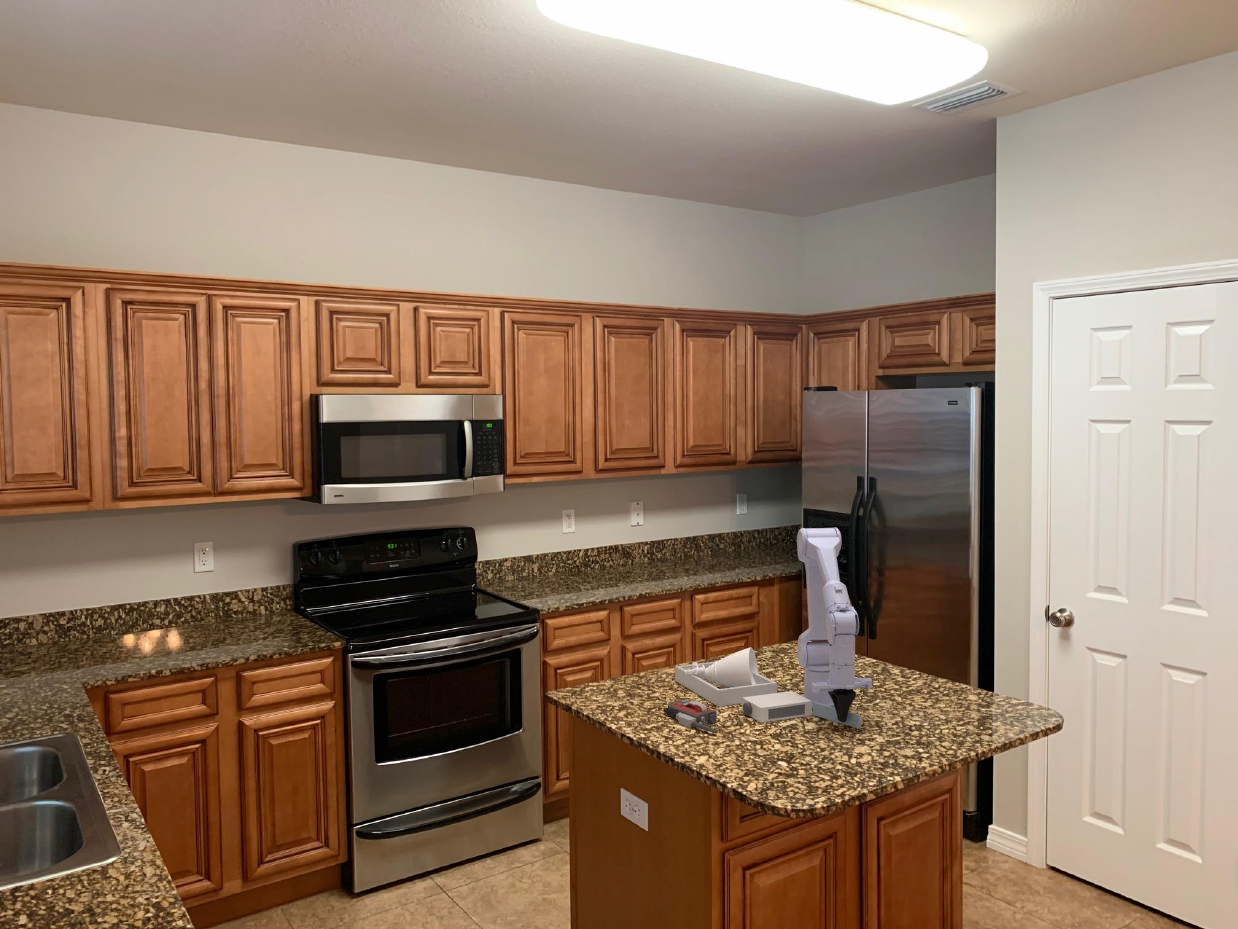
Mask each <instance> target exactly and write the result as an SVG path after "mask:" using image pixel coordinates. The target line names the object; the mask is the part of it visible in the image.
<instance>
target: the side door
mask: <svg viewBox="0 0 1238 929" xmlns="http://www.w3.org/2000/svg"><path fill="white" fill-rule="evenodd" d="M812 716H816V717H818V718H822V719H826V720H829V721H833V722H836V723H839V724H843V725H845V726H848V727H852V728H856V729H858V730H859V729H861V728H862V725H863V724H864V717H863V716H862V715H861V714H858V713H856V712H852V711H850V710H849V711H848V715H847V719H846V722H840V721H839V720H838V718H837V713H836V709H835V706H828V705H825V704H821V703H818V702H813V708H812Z"/></svg>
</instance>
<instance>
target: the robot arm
mask: <svg viewBox="0 0 1238 929" xmlns="http://www.w3.org/2000/svg"><path fill="white" fill-rule="evenodd" d="M796 545H797V549H796V550H797V558H798V561H801V562H802V563H804V567H805V568H804V569H805V575H806V576H805V577H806V597H807V598H806V599H807V614H808V615H807V616H808V617H807V618H808V619H807V620H808V628H807V629H806V630H804V632H802V633H801V634H800V635H799V636H798V638H797V642H798V643H797V650H796V651H797V660H798V664H799V665H800V666H801V667H802V668H803V670H804V672H803V673H804V674H803V675H804V679H803V680H804V681H803V683H804V689H803V690H804V692H803V693H804V694H803V697H805V698H807V699H809V700H811V701H812V709H813V702H818V703H821V704H825V705H828V706H832V707H835V709H836V713H837V718H838V720H839V721H840V722H846V719H847V715H848V711H849V712H850V709H851V707H852V703H853V702H854V700H855V699H856V698H857V691H855V690H857V689H872V688H873V679H871V678H869V677H862V678H861V677H856V676H855V675H856V674H855V673H856V672H855V671H856V636H858V634H859V632H860V621H859V614H858V613H857V610H855V607H854V606H852V604H851V601H850V597H849V594H848V590H847V586H846V584H844V583H843V582H841V579H840V572H839V571H840V570H839V567H838V564H839V563H838V559H837V557H838V556H839V555H840V550H841V548H842V534H841V531H840V530H839V529H838V527H825V528H821V527H820V528H819V527H818V528H817V527H816V528H815V527H814V528H812V527H809V528H804V527H801V528H800V529H798V532H797V536H796ZM824 640H825V641H824ZM826 640H827V641H826ZM855 677H856V678H855Z"/></svg>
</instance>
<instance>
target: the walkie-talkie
mask: <svg viewBox="0 0 1238 929" xmlns="http://www.w3.org/2000/svg"><path fill="white" fill-rule="evenodd" d="M662 710H663V713H666V714H667V716H668V717H671V718H674V719H676V720H677V721H678V724H679V725H682V726H684V727H687V728H688V729H692V728H697V729H700V730H703V731H706V732H712V733H714V734H717V733H718V730H717V729H714V728H712V727H710V726H707V725H709V724H714V723H717V721H718V720H717V719H718V718H717V716H718V715H717V714H718V713H717V710H714V709H711V708H709V706H708V705H707V704H706V703H703V702H700V701H697V700H694V701H689V699H680V700H676V701H672V702H669V703H668V704H667V707H663V709H662Z"/></svg>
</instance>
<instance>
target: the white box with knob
mask: <svg viewBox="0 0 1238 929" xmlns="http://www.w3.org/2000/svg"><path fill="white" fill-rule="evenodd" d="M741 711H742V713H743V714H744V716H749V717H751V719H753V720H756V721H757V722H759V723H763V724H764V723H768V722H776V721H782V720H790V719H795V718H796V719H797V718H803V717H810V716H813V708H812V701H811V700H809V699H807V698H805V697H804V695H803V696H802V695H801V694H799V693H796V692H795V691H792V690H789V691H783V692H777V693H773V694H765V695H758V696H750V697H743V698H742V703H741Z"/></svg>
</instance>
